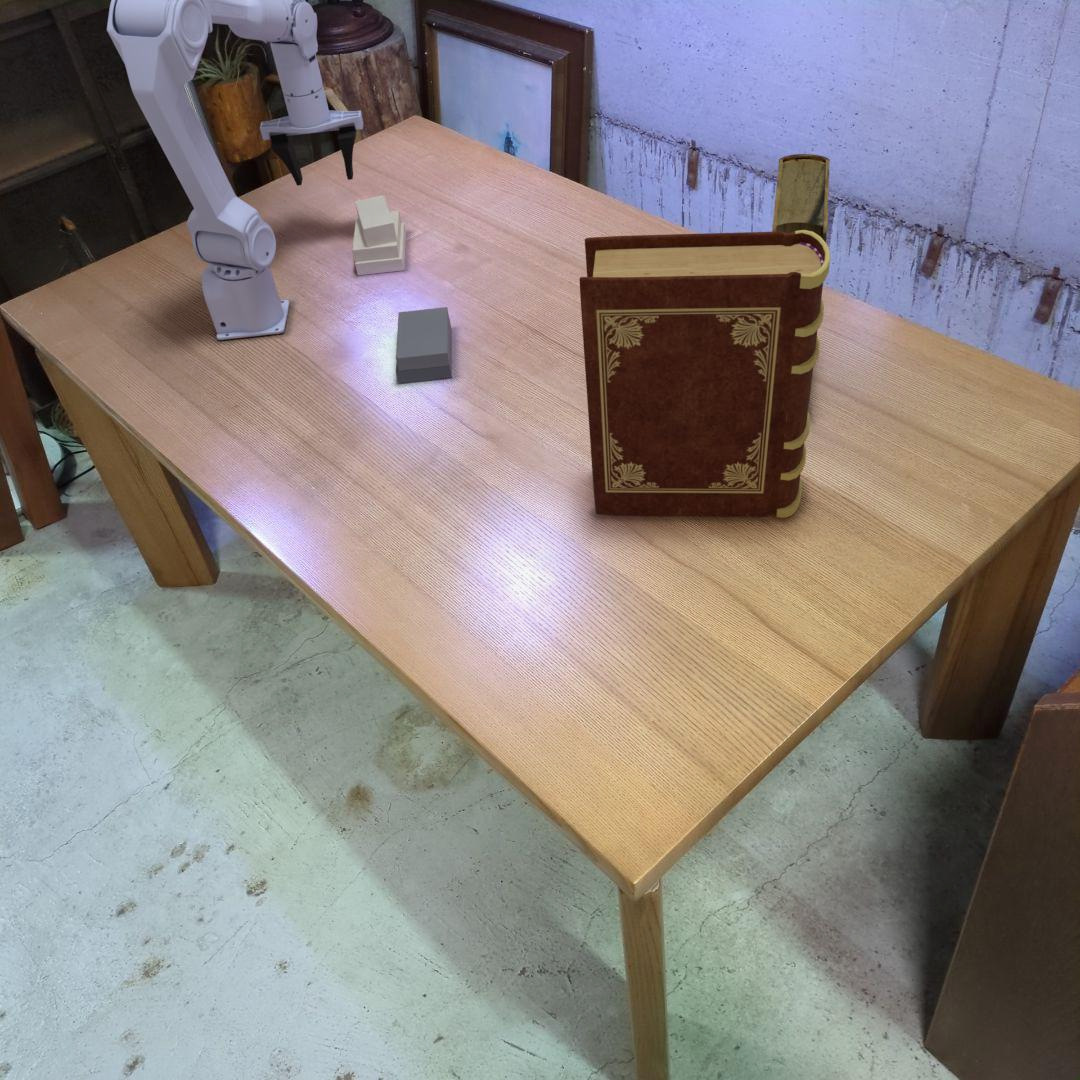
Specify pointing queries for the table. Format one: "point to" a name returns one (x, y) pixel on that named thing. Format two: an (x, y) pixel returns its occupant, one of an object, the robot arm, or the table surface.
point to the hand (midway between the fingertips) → (325, 179)
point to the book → (802, 194)
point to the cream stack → (380, 250)
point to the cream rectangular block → (376, 221)
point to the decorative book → (701, 370)
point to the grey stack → (424, 345)
